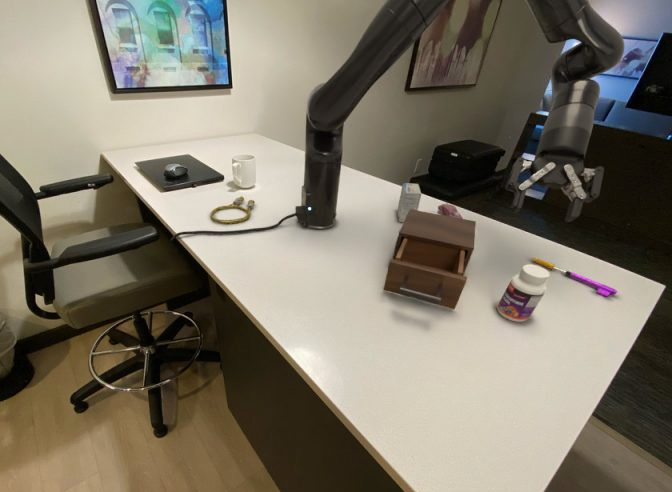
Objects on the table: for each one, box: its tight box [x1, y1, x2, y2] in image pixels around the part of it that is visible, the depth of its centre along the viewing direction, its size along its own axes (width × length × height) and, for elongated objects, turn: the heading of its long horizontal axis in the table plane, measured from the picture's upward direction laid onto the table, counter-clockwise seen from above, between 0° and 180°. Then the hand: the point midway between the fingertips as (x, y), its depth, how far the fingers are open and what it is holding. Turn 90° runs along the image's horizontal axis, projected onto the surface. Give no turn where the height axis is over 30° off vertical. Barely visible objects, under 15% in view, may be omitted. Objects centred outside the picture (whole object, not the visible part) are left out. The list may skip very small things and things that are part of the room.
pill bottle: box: [496, 264, 550, 323], centre depth 59 cm, size 5×5×10 cm
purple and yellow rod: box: [531, 257, 618, 298], centre depth 71 cm, size 3×1×16 cm
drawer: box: [382, 237, 468, 310], centre depth 64 cm, size 18×13×7 cm
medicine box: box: [396, 182, 422, 223], centre depth 93 cm, size 8×4×9 cm, turn 168°
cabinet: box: [392, 209, 477, 276], centre depth 74 cm, size 14×15×9 cm
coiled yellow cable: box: [210, 196, 256, 225], centre depth 96 cm, size 12×16×2 cm
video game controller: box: [437, 202, 464, 219], centre depth 90 cm, size 10×5×7 cm, turn 5°
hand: (542, 215), depth 61 cm, fingers open, 8 cm apart
